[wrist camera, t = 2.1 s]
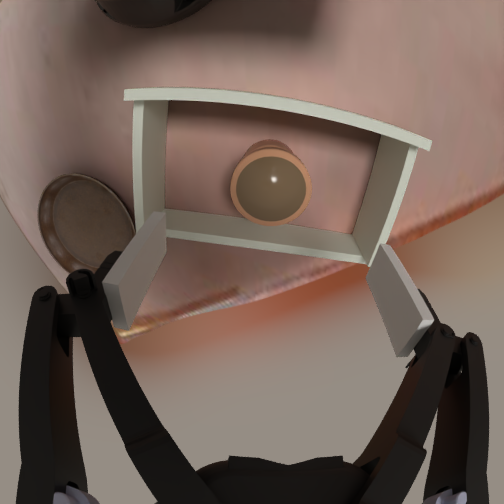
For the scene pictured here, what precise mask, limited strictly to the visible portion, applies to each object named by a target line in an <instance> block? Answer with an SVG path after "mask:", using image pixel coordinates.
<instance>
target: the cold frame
mask: <svg viewBox="0 0 504 504" xmlns="http://www.w3.org/2000/svg"><path fill="white" fill-rule="evenodd" d="M130 100H134V108H133V141H132V160H133V194H134V211H135V225H136V233H137V232H138V231H139V229H140V228H141V227H142V226H143V224H144V223H145V222H146V220H147V219H148V218H149V217H150V215H151V214H152V213H153V211H155V212H164V213H166V237H170V238H177V239H185V240H193V241H200V242H208V243H215V244H223V245H230V246H237V247H245V248H252V249H260V250H267V251H274V252H282V253H289V254H297V255H304V256H311V257H319V258H326V259H333V260H340V261H348V262H355V263H362V264H367V266H368V267H371V264H372V262H373V259H374V257H375V255H376V252H377V250H378V247H379V245H380V244H386V242H387V239H388V237H389V234H390V232H391V229H392V226H393V224H394V221H395V219H396V216H397V213H398V210H399V208H400V205H401V202H402V199H403V196H404V193H405V190H406V187H407V184H408V181H409V178H410V175H411V171H412V168H413V165H414V161H415V158H416V154H417V151H418V147H420V148H422V149H425V150H428V151H430V147H431V144H432V141H431V140H429V139H427V138H424V137H422V136H420V135H417V134H415V133H412V132H410V131H408V130H405V129H402V128H400V127H397V126H395V125H392V124H389V123H386V122H383V121H380V120H377V119H374V118H370V117H367V116H364V115H360V114H357V113H353V112H350V111H346V110H342V109H338V108H334V107H330V106H326V105H322V104H317V103H313V102H308V101H303V100H298V99H293V98H287V97H281V96H275V95H269V94H262V93H254V92H246V91H237V90H226V89H213V88H195V87H150V88H134V89H125V90H124V101H130ZM169 100H188V101H207V102H220V103H231V104H240V105H249V106H257V107H264V108H270V109H277V110H283V111H289V112H294V113H299V114H305V115H309V116H314V117H319V118H323V119H328V120H332V121H336V122H340V123H344V124H348V125H352V126H355V127H359V128H363V129H366V130H369V131H373V132H376V133H379V134H381V138H380V142H379V146H378V150H377V154H376V157H375V161H374V165H373V168H372V172H371V176H370V179H369V182H368V186H367V189H366V193H365V196H364V199H363V202H362V206H361V209H360V212H359V215H358V218H357V221H356V224H355V227H354V230H353V233H352V234H346V233H340V232H334V231H328V230H322V229H316V228H309V227H303V226H296V225H290V224H283V225H278V226H264V225H259V224H256V223H254V222H251V221H250V220H248V219H246V218H240V217H233V216H225V215H217V214H209V213H201V212H193V211H184V210H176V209H167V208H165V155H166V132H167V116H168V103H169Z"/></svg>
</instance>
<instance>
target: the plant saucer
mask: <svg viewBox="0 0 504 504" xmlns="http://www.w3.org/2000/svg"><path fill="white" fill-rule="evenodd" d="M38 225H39V230H40V233H41V236H42V239H43V241H44V244H45V246H46V248H47V249H48V251H49V253H50V254H51V256H52V257H53V258H54V259H55V261H56V262H57V263H58V264H59V265H60V266H61V267H62V268H63V269H64V270H65V271H67V272H68V273H69V274H70V273H72V272H73V271H75V270H78V269H89V270H91V271H92V272H93V273H95V272H96V271H97V269H98V268H99V266H100V265H101V264H102V263H103V261H104V260H105V258H106V257H107V256H108V255H109V254H111V253H112V252H114V251H115V250H116V251H122V252H123V251H124V250H125V248H126V247H127V246H128V244H129V243H130V241H131V240H132V239H133V237H134V236H135V235H136V231H135V227H134V224H133V221H132V219H131V216H130V214H129V212H128V210H127V209H126V207H125V205H124V204H123V202H122V201H121V200H120V199H119V197H118V196H117V195H116V194H115V193H114V192H113V191H112V190H111V189H110V188H108V187H107V186H106V185H104V184H103V183H101V182H100V181H98V180H96V179H94V178H92V177H89V176H85V175H82V174H65V175H62V176H59V177H57V178H55V179H54V180H52V181H51V182H50V183H49V184H48V185H47V186H46V188H45V189H44V191H43V193H42V195H41V197H40V200H39V204H38Z"/></svg>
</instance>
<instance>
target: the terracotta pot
mask: <svg viewBox="0 0 504 504" xmlns="http://www.w3.org/2000/svg"><path fill="white" fill-rule="evenodd" d="M230 192H231V197H232V201H233V203H234V205H235V207H236V208H237V210H238V211H239V212H240V213H241V214H242V215H243V216H244V217H245V218H246V219H248V220H250V221H251V222H254V223H256V224H259V225H264V226H278V225H283V224H286V223H288V222H291V221H292V220H294V219H296V218H297V217H298V216H299V215H300V214H302V212H303V211H304V210H305V208H306V207H307V205H308V203H309V201H310V198H311V193H312V184H311V179H310V176H309V174H308V171H307V169H306V167H305V166H304V164H303V163H302V161H301V160H300V159H299V158H298V157H297V156H296V155H294V154H293V152H292V151H291V149H290V148H289V147H288V146H287V145H285V144H284V143H282V142H280V141H277V140H262V141H259V142H257V143H255V144H253V145H252V146H251V147H250V148H249V149H248V150H247V152H246V153H245V155H244V157H243V158H242V159H241V161H240V162H239V163H238V165H237V166H236V168H235V170H234V173H233V176H232V179H231V184H230Z"/></svg>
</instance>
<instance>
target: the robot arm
mask: <svg viewBox="0 0 504 504" xmlns="http://www.w3.org/2000/svg"><path fill="white" fill-rule="evenodd" d="M95 1H97V4H98V6H99V7H100V9H101V10H102V12H103V13H104V14H105V15H106V16H108V17H109V18H111V19H112V20H114V21H116V22H119V23H122V24H125V25H128V26H132V27H138V28H152V27H159V26H164V25H168V24H171V23H174V22H177V21H179V20H182V19H184V18H186V17H188V16H190V15H192V14H193V13H195V12H197V11H198V10H200V9H201V8H203V7H204V6H205V5H207V4H208V3H209V2H210V1H211V0H95ZM166 252H167V247H166V213H164V212H155V211H153V213H152V214H151V215H150V217H149V218H148V219H147V220H146V222H145V223H144V224H143V226H142V227H141V228H140V229H139V231H138V232H137V233H136V235H135V236H134V237H133V239H132V240H131V241H130V243H129V244H128V246H127V247H126V248H125V250H124V251H123V252H122V251H116V250H115V251H114V252H112V253H111V254H109V255H108V256H107V257H106V258H105V260H104V261H103V263H102V264H101V265H100V266H99V268H98V269H97V271H96V272H95V273H93V272H92V271H91V270H89V269H78V270H75V271H73V272H72V273H70V274H69V275H68V277H67V278H66V284H67V287H68V290H69V293H70V294H58V293H57V291H56V289H55V288H54V287H52V286H44V287H41V288H39V289H38V290H37V291H36V292H35V293H34V295H33V297H32V302H31V306H30V311H29V316H28V321H27V326H26V332H25V339H24V345H23V353H22V362H21V372H20V386H19V438H20V451H21V461H22V464H21V469H20V475H19V481H18V489H17V497H16V504H99V502H98V501H97V500H96V499H95V498H94V497H93V496H92V495H90V494H88V488H87V478H86V473H85V467H84V462H83V457H82V452H81V446H80V441H79V434H78V427H77V419H76V409H75V398H74V384H73V337H81V338H82V341H83V344H84V347H85V351H86V353H87V357H88V360H89V362H90V365H91V368H92V371H93V374H94V377H95V379H96V382H97V384H98V387H99V389H100V392H101V394H102V397H103V399H104V401H105V404H106V406H107V408H108V411H109V413H110V415H111V417H112V419H113V422H114V423H115V426H116V428H117V430H118V432H119V434H120V435H121V438H122V440H123V442H124V444H125V448H126V451H127V453H128V455H129V457H130V458H131V460H132V462H133V464H134V465H135V467H136V469H137V470H138V472H139V474H140V475H141V477H142V479H143V480H144V482H145V483H146V485H147V486H148V488H149V489H150V491H151V492H152V494H153V495H154V497H155V498H156V500H157V501H158V502H156V503H155V504H402V502H403V501H404V499H405V497H406V495H407V493H408V492H409V490H410V488H411V486H412V484H413V482H414V480H415V478H416V476H417V474H418V472H419V470H420V468H421V466H422V463H423V461H424V459H425V457H426V453H427V452H426V450H425V449H424V448H423V445H424V442H425V440H426V438H427V435H428V432H429V430H430V428H431V425H432V422H433V419H434V416H435V414H436V411H437V408H438V412H437V422H436V430H435V437H434V444H433V450H432V455H431V460H430V466H429V470H428V475H427V479H426V484H425V489H424V498H423V503H422V504H489V494H488V483H487V474H486V471H487V461H488V447H489V445H488V444H489V402H488V387H487V376H486V368H485V360H484V354H483V347H482V343H481V340H480V339H479V337H478V336H477V335H476V334H474V333H471V332H469V333H467V334H466V335H465V336H464V338H460V337H457V336H455V333H454V331H453V330H452V329H451V328H450V327H449V326H448V325H446V324H442V323H440V321H439V319H438V317H437V315H436V313H435V312H434V310H433V308H431V304H430V303H429V301H428V299H427V297H426V296H425V294H424V293H422V292H421V291H420V289H417V288H416V286H415V284H414V283H413V281H412V279H411V278H410V276H409V274H408V273H407V271H406V269H405V268H404V266H403V265H402V263H401V261H400V260H399V258H398V257H397V255H396V254H395V252H394V251H393V249H392V248H391V246H390V245H386V244H380V245H379V247H378V250H377V252H376V255H375V257H374V259H373V262H372V264H371V267H370V269H369V271H368V274H367V276H366V280H367V283H368V285H369V287H370V289H371V292H372V294H373V297H374V299H375V302H376V304H377V307H378V309H379V312H380V314H381V316H382V319H383V322H384V324H385V327H386V329H387V332H388V335H389V337H390V340H391V343H392V345H393V348H394V351H395V354H396V357H407V356H408V355H409V354H410V353H411V352H412V350H413V349H414V351H415V353H416V355H415V356H414V357H413V359H412V360H411V361H410V362H409V363H408V365H407V366H406V368H408V366H409V368H408V370H407V372H406V374H405V377H404V379H403V381H402V384H401V385H400V387H399V390H398V391H397V394H396V396H395V398H394V399H393V401H392V403H391V405H390V407H389V409H388V411H387V413H386V415H385V416H384V418H383V420H382V422H381V424H380V426H379V427H378V429H377V430H376V432H375V434H374V436H373V437H372V439H371V440H370V442H369V444H368V445H367V447H366V448H365V450H364V452H363V453H362V454H361V456H360V457H359V458H358V459H357V460H356V461H355V462H354V463H353V464H351V463H348V462H344V461H343V456H333V457H320V458H314V459H311V460H307V461H304V462H300V463H296V464H292V465H285V464H281V463H276V462H272V461H269V460H265V459H261V458H252V457H238V456H229V458H228V460H226V461H220V462H216V463H212V464H209V465H207V466H205V467H202V468H200V469H199V470H197V471H195V470H194V469H193V467H192V466H191V465H190V463H189V462H188V460H187V459H186V458H185V456H184V455H183V453H182V452H181V451H180V449H179V448H178V446H177V445H176V443H175V442H174V440H173V439H172V437H171V436H170V434H169V433H168V431H167V430H166V429H165V428H164V427H163V425H162V424H161V422H160V421H159V419H158V417H157V415H156V414H155V412H154V410H153V409H152V407H151V405H150V403H149V402H148V400H147V398H146V396H145V394H144V393H143V391H142V389H141V387H140V385H139V383H138V381H137V380H136V377H135V375H134V373H133V372H132V369H131V367H130V366H129V363H128V361H127V359H126V357H125V355H124V353H123V351H122V349H121V347H120V344H119V342H118V339H117V337H116V335H115V332H114V330H113V328H112V325H111V323H110V322H111V320H112V321H113V324H114V327H116V328H120V329H124V330H128V331H129V329H130V327H131V325H132V323H133V320H134V318H135V316H136V314H137V312H138V309H139V307H140V305H141V303H142V301H143V299H144V297H145V295H146V292H147V290H148V288H149V286H150V284H151V282H152V280H153V278H154V276H155V274H156V272H157V270H158V268H159V266H160V264H161V262H162V260H163V258H164V256H165V254H166ZM461 371H462V373H461Z"/></svg>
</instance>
